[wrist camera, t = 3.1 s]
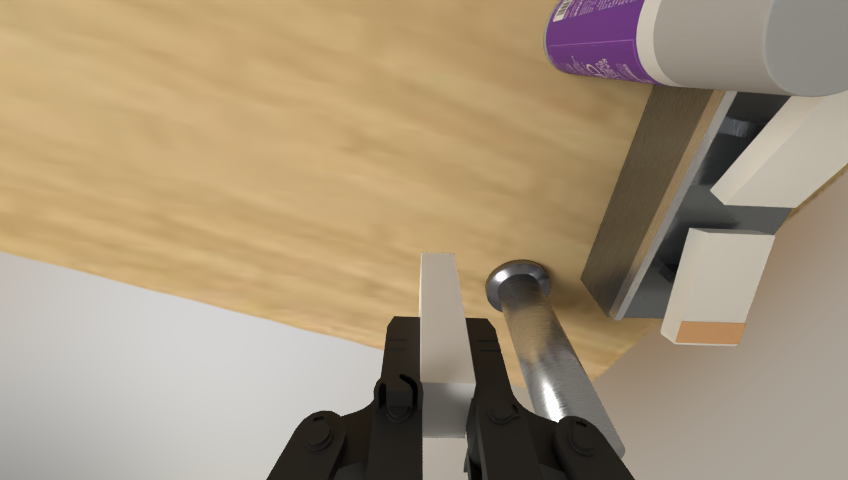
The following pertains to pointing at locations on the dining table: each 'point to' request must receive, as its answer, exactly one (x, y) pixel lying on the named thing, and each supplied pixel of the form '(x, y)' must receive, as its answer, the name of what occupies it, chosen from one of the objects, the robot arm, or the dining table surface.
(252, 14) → the dining table surface
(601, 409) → the post
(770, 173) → the paddle
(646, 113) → the grey channel rail
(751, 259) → the paddle
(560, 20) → the container
